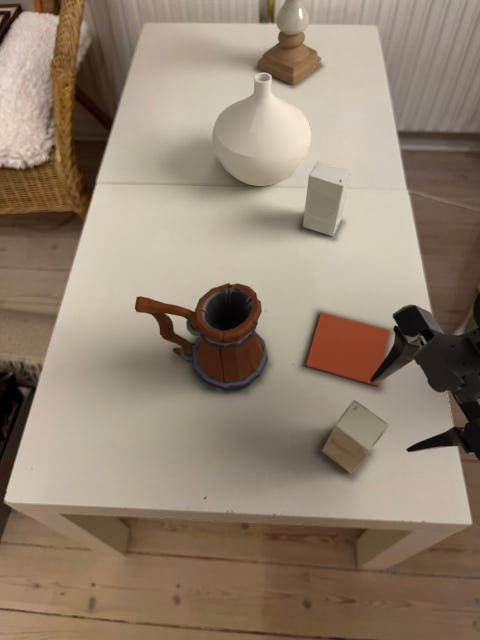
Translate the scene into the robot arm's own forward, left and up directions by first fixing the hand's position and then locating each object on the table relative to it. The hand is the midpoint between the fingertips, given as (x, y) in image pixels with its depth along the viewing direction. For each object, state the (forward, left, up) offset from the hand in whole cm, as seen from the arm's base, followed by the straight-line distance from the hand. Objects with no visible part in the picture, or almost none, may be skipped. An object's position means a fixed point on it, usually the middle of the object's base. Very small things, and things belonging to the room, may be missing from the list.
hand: (389, 414), depth 59 cm
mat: (+6, -14, -11) cm, 18 cm away
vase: (+31, -49, -11) cm, 59 cm away
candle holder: (+35, -85, -11) cm, 92 cm away
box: (+3, +2, -11) cm, 11 cm away
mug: (+26, -6, -11) cm, 29 cm away
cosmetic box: (+16, -38, -11) cm, 42 cm away
